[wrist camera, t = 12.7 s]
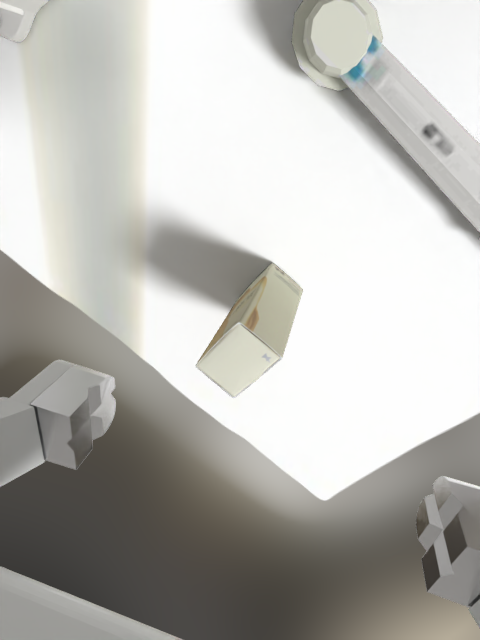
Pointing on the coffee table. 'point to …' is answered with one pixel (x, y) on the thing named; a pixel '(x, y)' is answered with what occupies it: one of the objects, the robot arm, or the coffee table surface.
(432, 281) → the coffee table surface
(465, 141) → the white handheld device
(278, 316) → the skincare box
